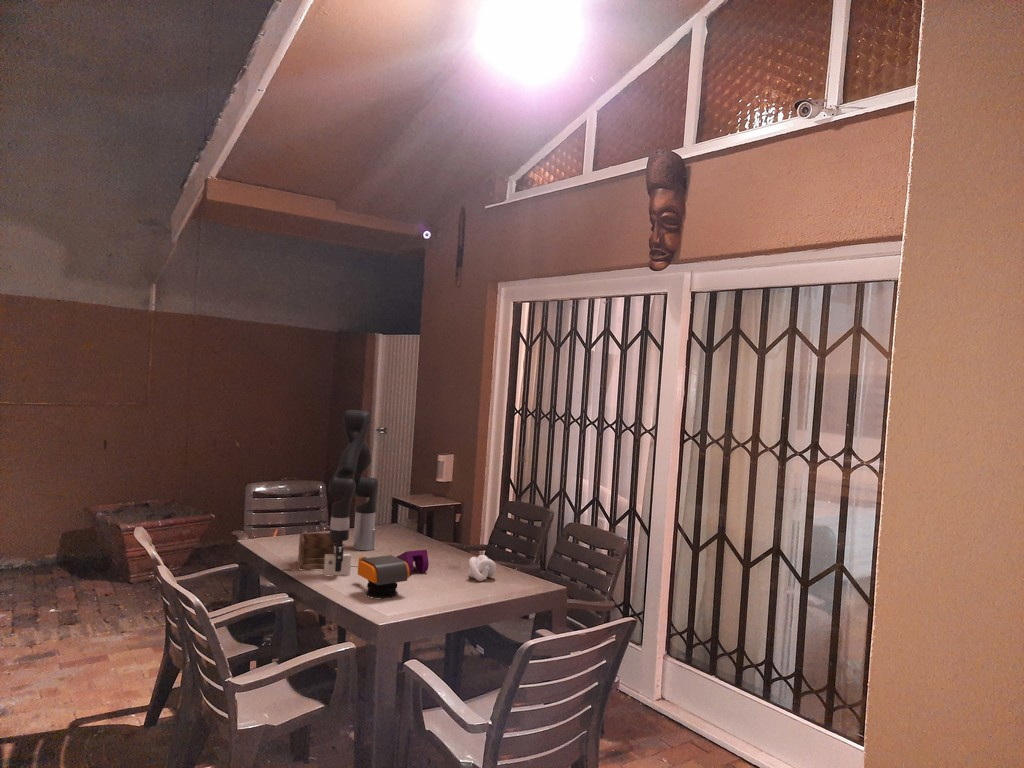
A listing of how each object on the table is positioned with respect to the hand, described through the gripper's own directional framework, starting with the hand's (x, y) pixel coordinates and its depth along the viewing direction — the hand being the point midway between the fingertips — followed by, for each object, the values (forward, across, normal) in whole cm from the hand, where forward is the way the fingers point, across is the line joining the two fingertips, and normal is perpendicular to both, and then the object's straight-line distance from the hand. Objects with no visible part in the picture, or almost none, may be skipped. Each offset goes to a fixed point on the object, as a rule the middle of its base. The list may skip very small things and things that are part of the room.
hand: (337, 568), depth 278 cm
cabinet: (+2, +15, +6) cm, 16 cm away
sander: (+3, -23, -12) cm, 26 cm away
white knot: (+3, -13, -56) cm, 58 cm away
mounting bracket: (+3, +5, -30) cm, 30 cm away
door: (+2, 0, 0) cm, 2 cm away
